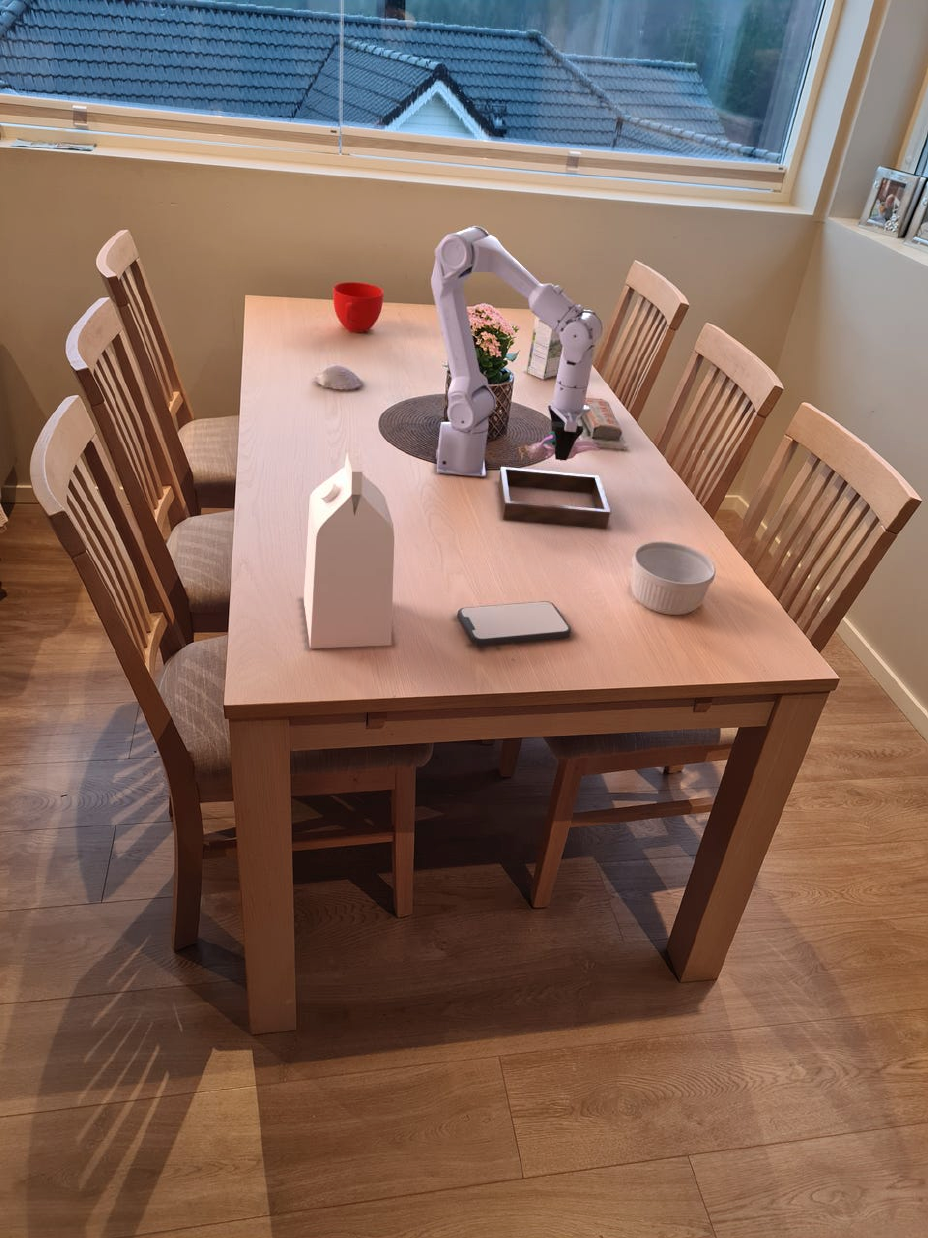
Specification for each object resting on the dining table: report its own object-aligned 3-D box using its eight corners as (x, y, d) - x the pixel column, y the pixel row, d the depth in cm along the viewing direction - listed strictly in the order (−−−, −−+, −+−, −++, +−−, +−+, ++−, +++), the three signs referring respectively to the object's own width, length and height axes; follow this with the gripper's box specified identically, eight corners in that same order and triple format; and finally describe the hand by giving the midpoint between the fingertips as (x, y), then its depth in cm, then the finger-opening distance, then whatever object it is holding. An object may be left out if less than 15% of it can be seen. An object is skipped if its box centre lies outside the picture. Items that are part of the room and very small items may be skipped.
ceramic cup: (321, 336, 239) (322, 296, 233) (339, 317, 253) (340, 279, 247) (371, 344, 238) (373, 304, 233) (386, 324, 252) (388, 287, 246)
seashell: (304, 369, 210) (332, 349, 216) (307, 390, 214) (335, 371, 220) (340, 381, 206) (367, 361, 212) (342, 402, 210) (369, 382, 216)
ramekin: (610, 581, 156) (618, 545, 152) (675, 571, 161) (685, 536, 157) (653, 626, 147) (663, 588, 143) (721, 614, 152) (732, 577, 148)
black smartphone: (549, 607, 148) (454, 615, 143) (551, 599, 147) (455, 607, 142) (572, 640, 141) (473, 650, 136) (574, 632, 140) (474, 641, 135)
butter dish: (571, 393, 212) (614, 397, 213) (567, 414, 215) (610, 417, 216) (585, 426, 197) (631, 430, 198) (581, 447, 200) (626, 451, 201)
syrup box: (540, 368, 238) (549, 311, 229) (558, 376, 234) (568, 318, 226) (525, 372, 234) (534, 314, 226) (543, 380, 231) (553, 321, 223)
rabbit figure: (522, 471, 173) (602, 463, 174) (522, 441, 170) (603, 434, 171) (517, 456, 178) (595, 449, 179) (517, 427, 175) (596, 420, 176)
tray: (502, 520, 169) (505, 502, 167) (497, 482, 182) (500, 466, 180) (607, 529, 171) (610, 512, 169) (595, 491, 183) (599, 475, 181)
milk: (391, 645, 135) (404, 482, 120) (310, 648, 132) (314, 482, 117) (379, 598, 144) (390, 442, 130) (303, 600, 142) (306, 441, 127)
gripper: (599, 399, 162) (584, 471, 170) (589, 370, 174) (575, 437, 181) (559, 395, 161) (546, 467, 169) (551, 366, 173) (539, 434, 181)
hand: (559, 452), depth 175 cm, fingers closed on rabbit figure, 5 cm apart
